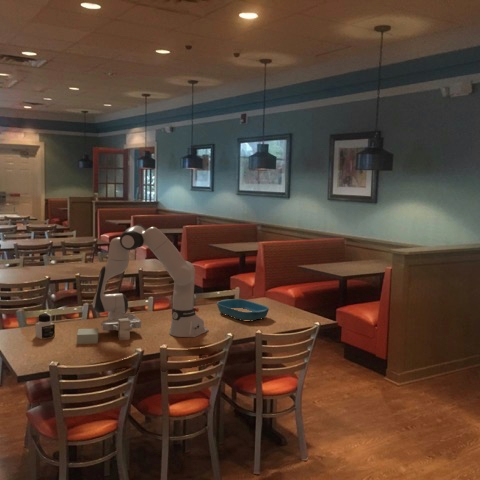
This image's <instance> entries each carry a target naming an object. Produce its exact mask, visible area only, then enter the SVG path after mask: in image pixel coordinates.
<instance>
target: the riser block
mask: <svg viewBox="0 0 480 480" xmlns="http://www.w3.org/2000/svg"><path fill="white" fill-rule="evenodd" d="M98 343H99V328H78V330H77V333H76V345H85V344H87V345H88V344H98Z"/></svg>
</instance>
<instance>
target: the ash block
mask: <svg viewBox="0 0 480 480" xmlns="http://www.w3.org/2000/svg"><path fill="white" fill-rule="evenodd" d="M118 326H119V330H118V331H117V338H118V339H119V341H127V340H130V337H131V335H130V333H131V332H130V331H131V330H130V320H129V319H128V318H124V319H118Z"/></svg>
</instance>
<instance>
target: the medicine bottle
mask: <svg viewBox="0 0 480 480" xmlns="http://www.w3.org/2000/svg"><path fill="white" fill-rule="evenodd" d="M55 326H56V325H55V323H54V322H52V315H51V314H50V313H40V314H38V322H36V323H35V333H34V334H35V337H36V338H38V339H40V340H46V339H47V338H48V339H53V338H55V336H56V333H55V330H56V329H55V328H56V327H55Z"/></svg>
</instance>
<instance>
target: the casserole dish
mask: <svg viewBox="0 0 480 480" xmlns="http://www.w3.org/2000/svg"><path fill="white" fill-rule="evenodd" d="M216 305H217V307H218V311H219V312H220V314H222V313H223V314H222V315H224V314H226V315H225V316H227V315H229V316H232V317H235V318H237V319H236V320H238V319H241V320H256V319H261V318H264V319H265V318H266V317H267V316H268V313H269V310H270V307H268V306H267V305H263V304H261V303H258V302H254V301H250V300H247V299H243V298H232V299H231V298H230V299H229V298H228V299H222V300H220V301H217V302H216ZM231 308H243V309H247V310H249V311H252V312H242V311H238V310H234V309H231ZM229 316H228V317H229ZM232 317H231V318H232ZM235 318H234V319H235ZM241 320H240V321H241ZM261 320H262V319H261ZM256 321H257V320H256Z"/></svg>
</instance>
